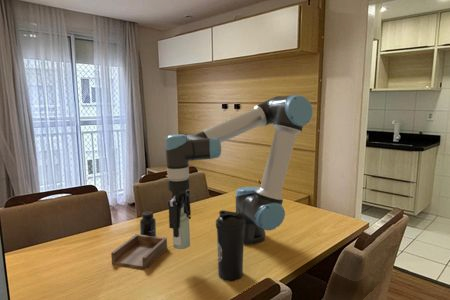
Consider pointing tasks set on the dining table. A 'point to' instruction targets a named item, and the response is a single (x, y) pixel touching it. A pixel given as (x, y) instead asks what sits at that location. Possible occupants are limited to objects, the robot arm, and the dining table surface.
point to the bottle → (184, 230)
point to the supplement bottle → (148, 224)
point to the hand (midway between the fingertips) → (181, 240)
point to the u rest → (139, 251)
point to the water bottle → (230, 244)
